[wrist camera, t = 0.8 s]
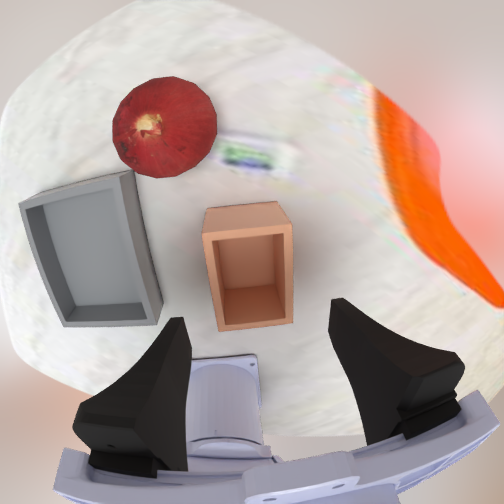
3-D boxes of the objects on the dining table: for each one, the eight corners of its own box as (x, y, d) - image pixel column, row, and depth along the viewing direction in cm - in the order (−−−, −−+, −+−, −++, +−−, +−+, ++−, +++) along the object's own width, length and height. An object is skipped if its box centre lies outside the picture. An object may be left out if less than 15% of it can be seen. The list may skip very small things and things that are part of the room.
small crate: (280, 284, 23) (293, 323, 18) (219, 291, 23) (218, 331, 18) (276, 201, 20) (292, 223, 15) (207, 208, 20) (201, 233, 15)
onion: (155, 182, 19) (114, 216, 11) (123, 111, 16) (65, 106, 9) (231, 147, 18) (234, 158, 11) (199, 74, 16) (182, 38, 8)
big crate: (163, 302, 23) (156, 325, 20) (76, 307, 22) (63, 327, 20) (133, 169, 18) (119, 176, 15) (39, 193, 17) (18, 203, 15)
